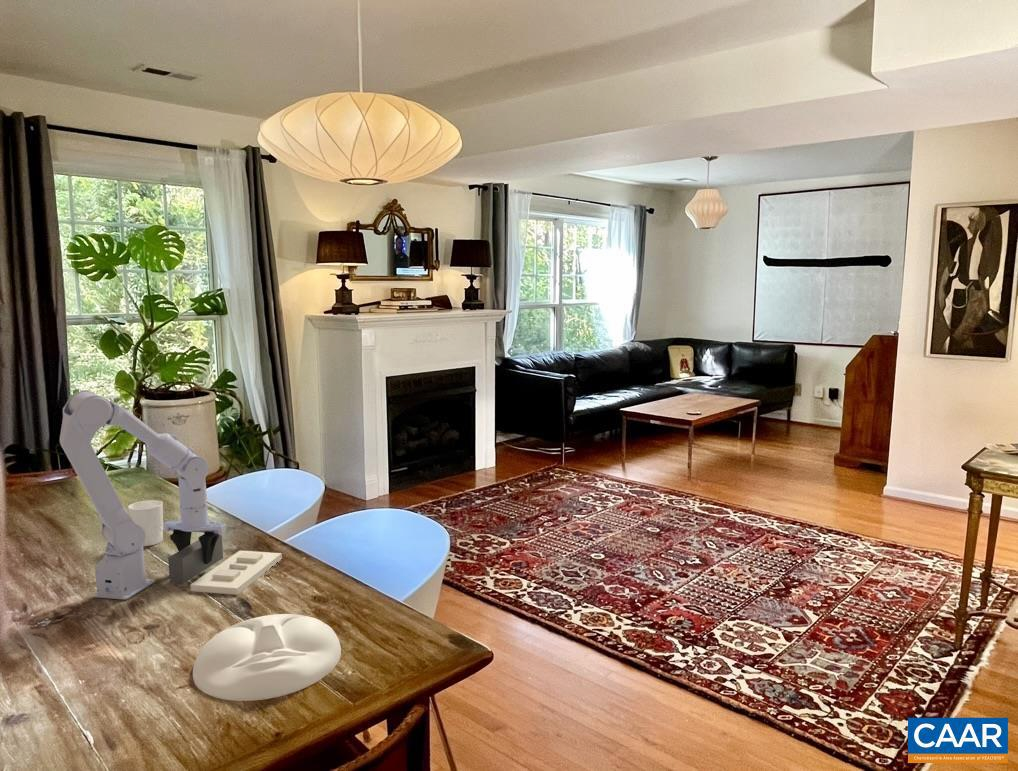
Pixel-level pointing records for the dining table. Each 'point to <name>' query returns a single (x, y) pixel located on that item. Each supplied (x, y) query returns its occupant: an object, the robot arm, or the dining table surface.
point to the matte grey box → (192, 561)
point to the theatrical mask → (266, 657)
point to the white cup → (148, 519)
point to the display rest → (236, 572)
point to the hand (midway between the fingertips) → (197, 561)
